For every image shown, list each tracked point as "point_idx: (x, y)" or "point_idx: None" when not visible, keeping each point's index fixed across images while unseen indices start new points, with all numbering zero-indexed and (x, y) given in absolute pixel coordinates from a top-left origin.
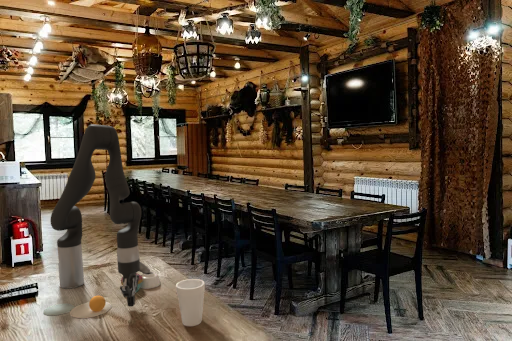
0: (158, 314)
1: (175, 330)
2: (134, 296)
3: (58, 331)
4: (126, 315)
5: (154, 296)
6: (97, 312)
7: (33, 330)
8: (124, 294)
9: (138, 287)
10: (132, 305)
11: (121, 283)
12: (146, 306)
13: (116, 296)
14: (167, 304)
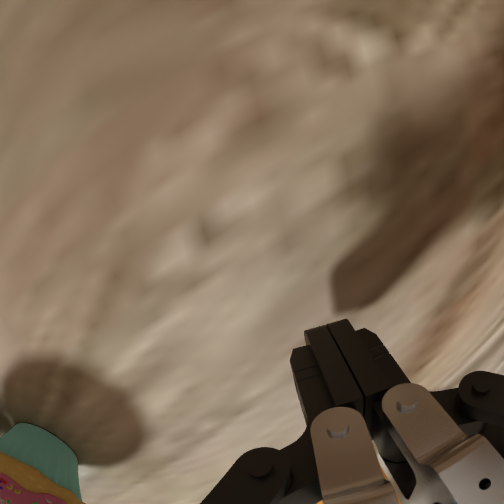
0: (361, 13)
1: None
2: (332, 388)
3: None
4: (419, 290)
5: (7, 282)
6: (376, 452)
7: None
8: (500, 429)
9: (16, 437)
10: (349, 327)
11: None
12: (214, 226)
13: (144, 485)
14: (114, 35)
